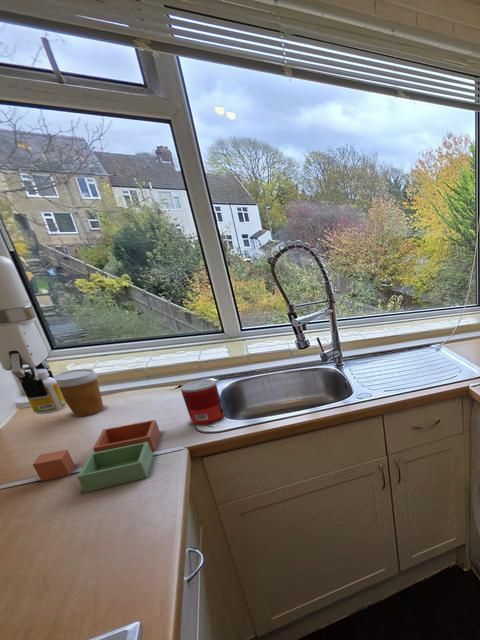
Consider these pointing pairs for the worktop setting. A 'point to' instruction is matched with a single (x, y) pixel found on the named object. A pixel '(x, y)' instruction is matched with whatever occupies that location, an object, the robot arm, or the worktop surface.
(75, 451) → the worktop surface
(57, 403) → the supplement bottle
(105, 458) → the green bin
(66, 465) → the terracotta block
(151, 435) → the terracotta bin
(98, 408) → the disposable coffee cup
